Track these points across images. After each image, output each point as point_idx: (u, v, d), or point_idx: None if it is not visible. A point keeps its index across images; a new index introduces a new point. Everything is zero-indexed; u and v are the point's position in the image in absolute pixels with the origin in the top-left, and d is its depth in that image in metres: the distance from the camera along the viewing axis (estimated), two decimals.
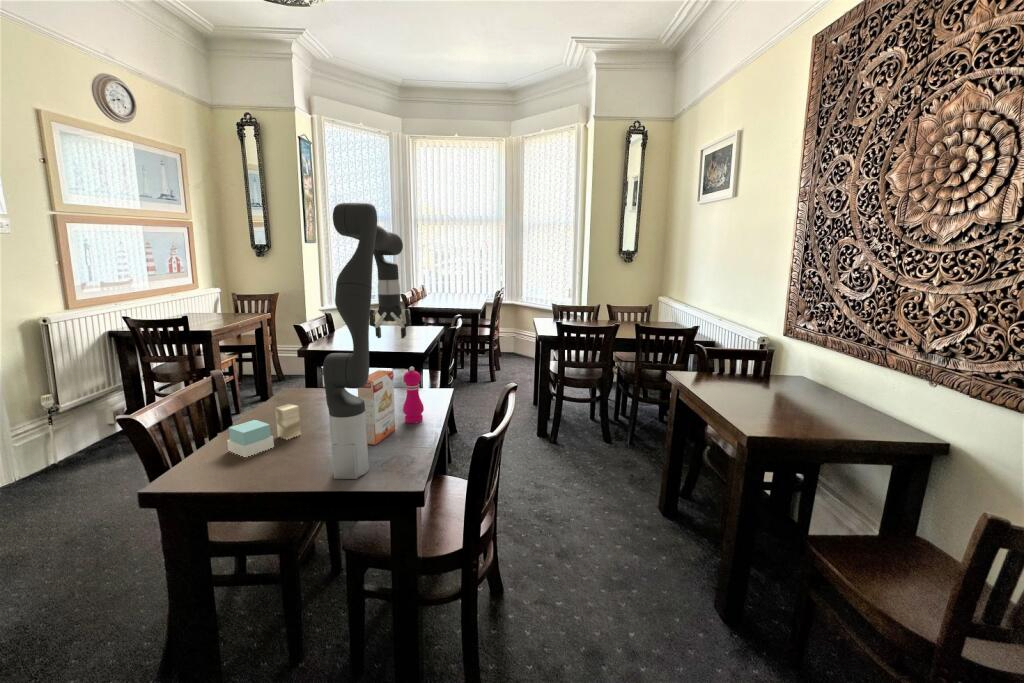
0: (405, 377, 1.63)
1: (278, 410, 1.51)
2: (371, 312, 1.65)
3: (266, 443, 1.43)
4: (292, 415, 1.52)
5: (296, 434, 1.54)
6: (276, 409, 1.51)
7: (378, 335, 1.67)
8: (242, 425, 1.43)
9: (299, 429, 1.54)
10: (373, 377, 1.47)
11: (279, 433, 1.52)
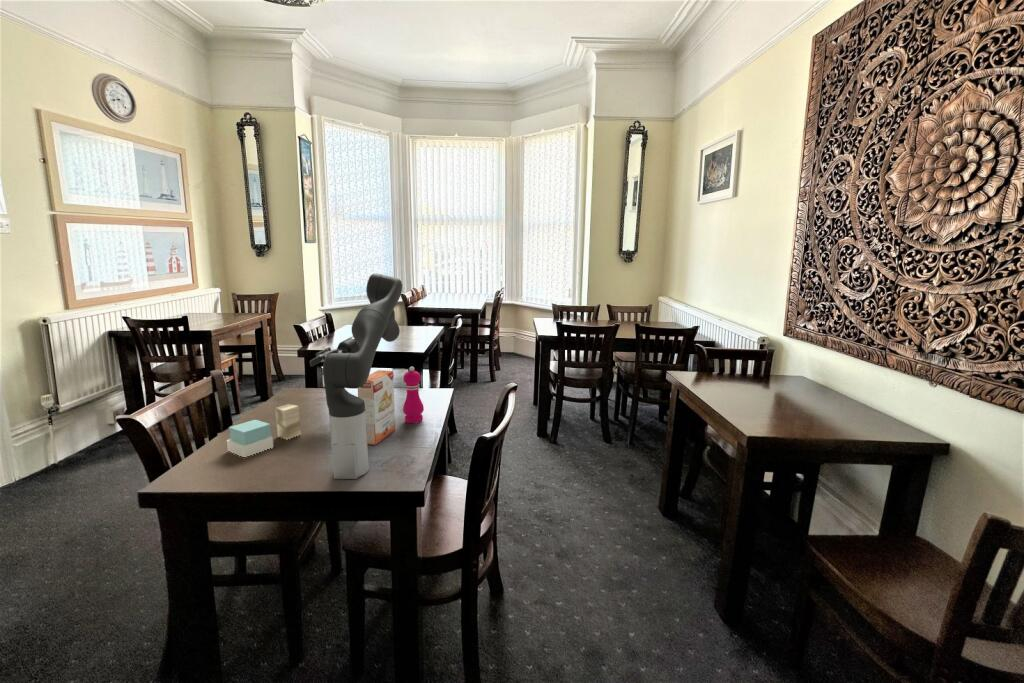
0: (405, 377, 1.63)
1: (278, 410, 1.51)
2: (327, 348, 1.70)
3: (265, 443, 1.43)
4: (292, 415, 1.52)
5: (296, 434, 1.54)
6: (276, 409, 1.51)
7: (312, 360, 1.63)
8: (242, 425, 1.43)
9: (299, 429, 1.54)
10: (373, 377, 1.47)
11: (279, 433, 1.52)
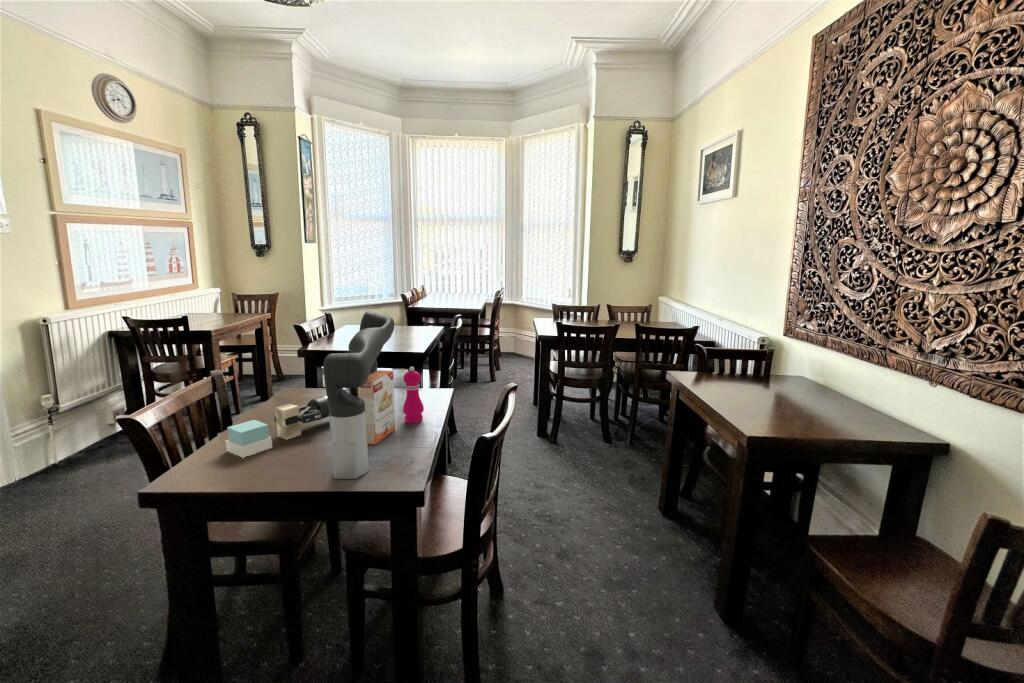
0: (405, 377, 1.63)
1: (278, 410, 1.51)
2: None
3: (264, 443, 1.42)
4: (292, 415, 1.52)
5: (296, 434, 1.53)
6: (276, 409, 1.51)
7: None
8: (241, 425, 1.43)
9: (299, 429, 1.54)
10: (373, 377, 1.47)
11: (279, 433, 1.52)
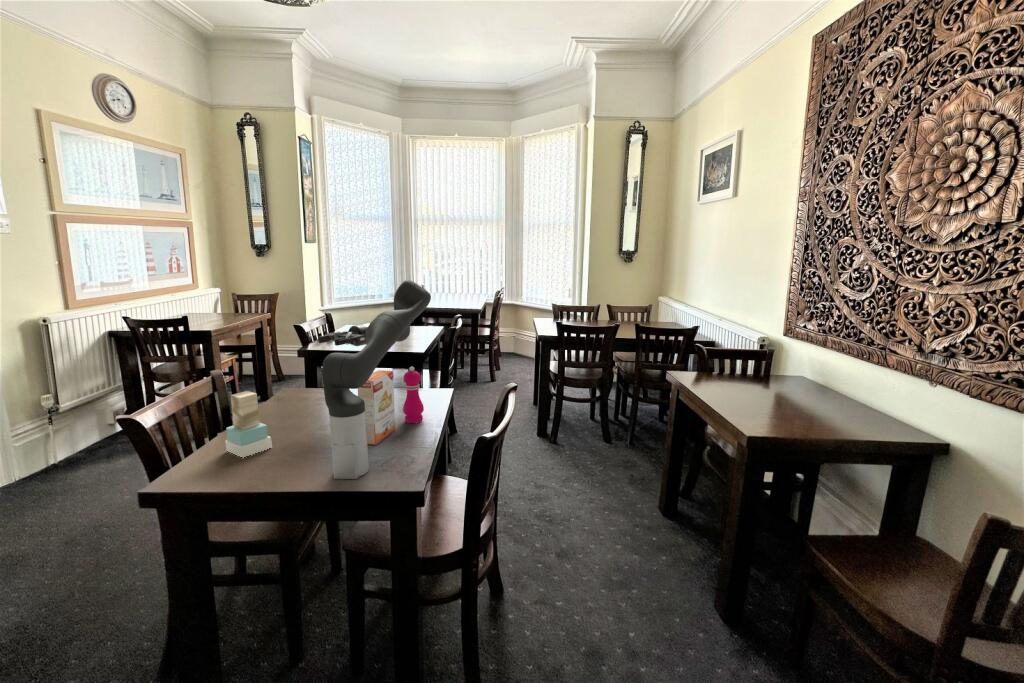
0: (405, 377, 1.63)
1: (234, 397, 1.39)
2: (337, 332, 1.68)
3: (264, 443, 1.43)
4: (250, 403, 1.40)
5: (254, 424, 1.42)
6: (232, 396, 1.39)
7: (321, 336, 1.61)
8: None
9: (257, 418, 1.42)
10: (373, 377, 1.47)
11: (235, 423, 1.40)
